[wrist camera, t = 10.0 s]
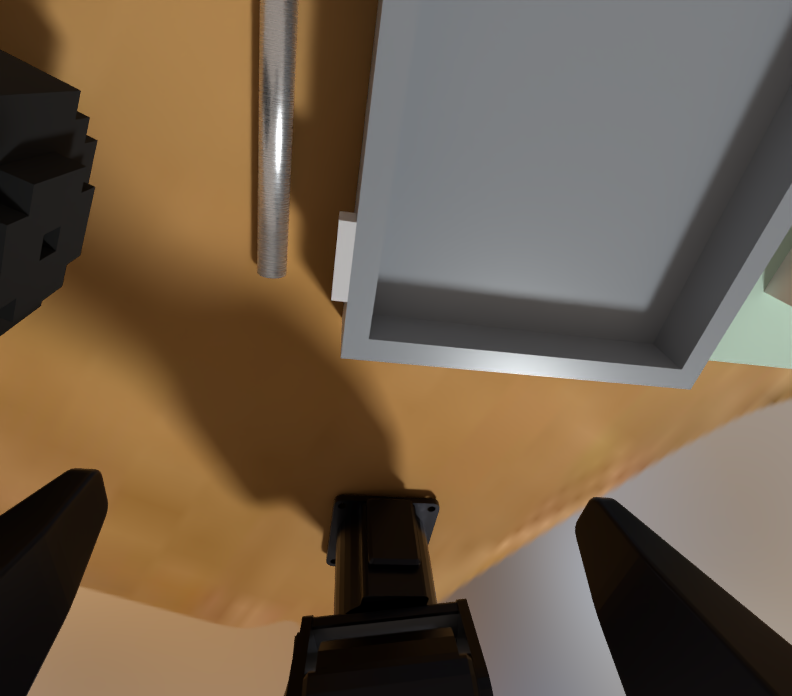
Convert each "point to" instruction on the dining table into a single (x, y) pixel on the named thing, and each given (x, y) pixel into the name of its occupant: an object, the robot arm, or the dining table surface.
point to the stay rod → (275, 131)
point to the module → (782, 281)
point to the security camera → (39, 185)
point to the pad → (761, 324)
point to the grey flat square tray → (566, 184)
